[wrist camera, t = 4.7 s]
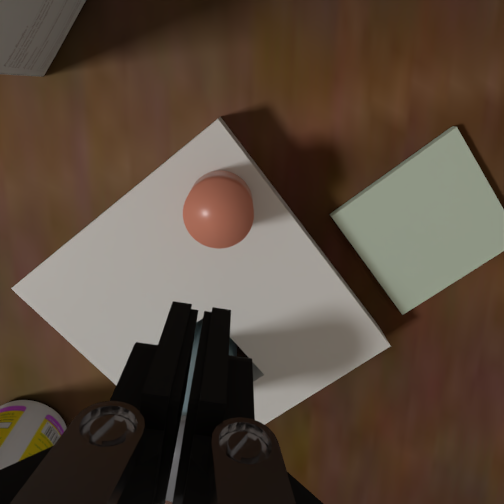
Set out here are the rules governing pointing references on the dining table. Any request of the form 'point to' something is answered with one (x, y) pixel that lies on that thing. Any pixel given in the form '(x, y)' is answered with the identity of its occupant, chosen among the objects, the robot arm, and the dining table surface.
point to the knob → (219, 210)
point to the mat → (425, 221)
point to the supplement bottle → (27, 430)
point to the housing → (207, 282)
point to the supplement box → (33, 33)
